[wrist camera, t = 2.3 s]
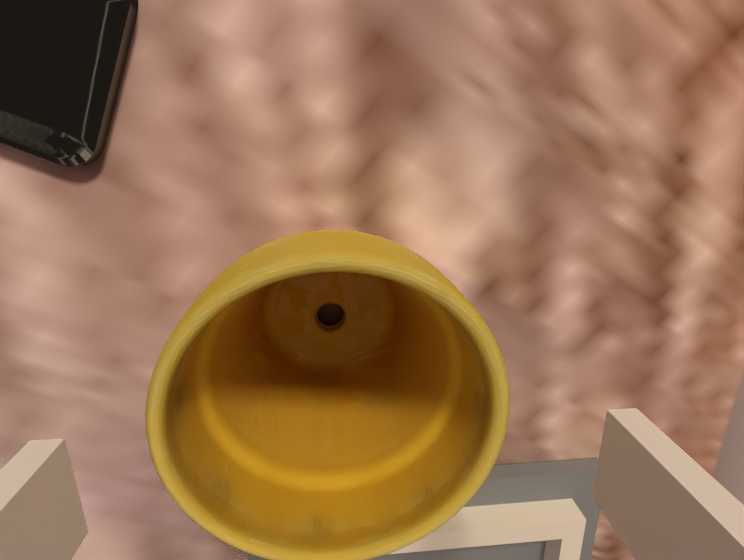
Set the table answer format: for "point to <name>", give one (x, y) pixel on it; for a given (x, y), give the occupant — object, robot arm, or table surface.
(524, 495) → the board
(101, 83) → the phone
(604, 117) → the table surface
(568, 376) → the table surface
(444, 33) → the table surface
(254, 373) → the plant pot
